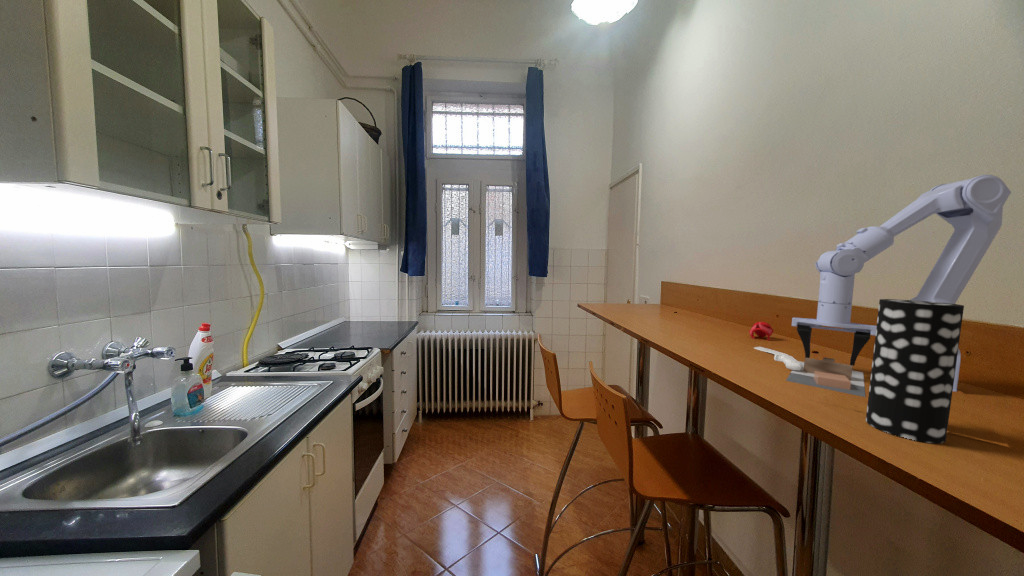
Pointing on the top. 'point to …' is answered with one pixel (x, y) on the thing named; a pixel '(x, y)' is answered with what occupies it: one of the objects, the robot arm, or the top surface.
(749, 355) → the top surface
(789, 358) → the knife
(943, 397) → the spotted tube
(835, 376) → the tile
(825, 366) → the pusher
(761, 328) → the red openwork dome
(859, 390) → the board
